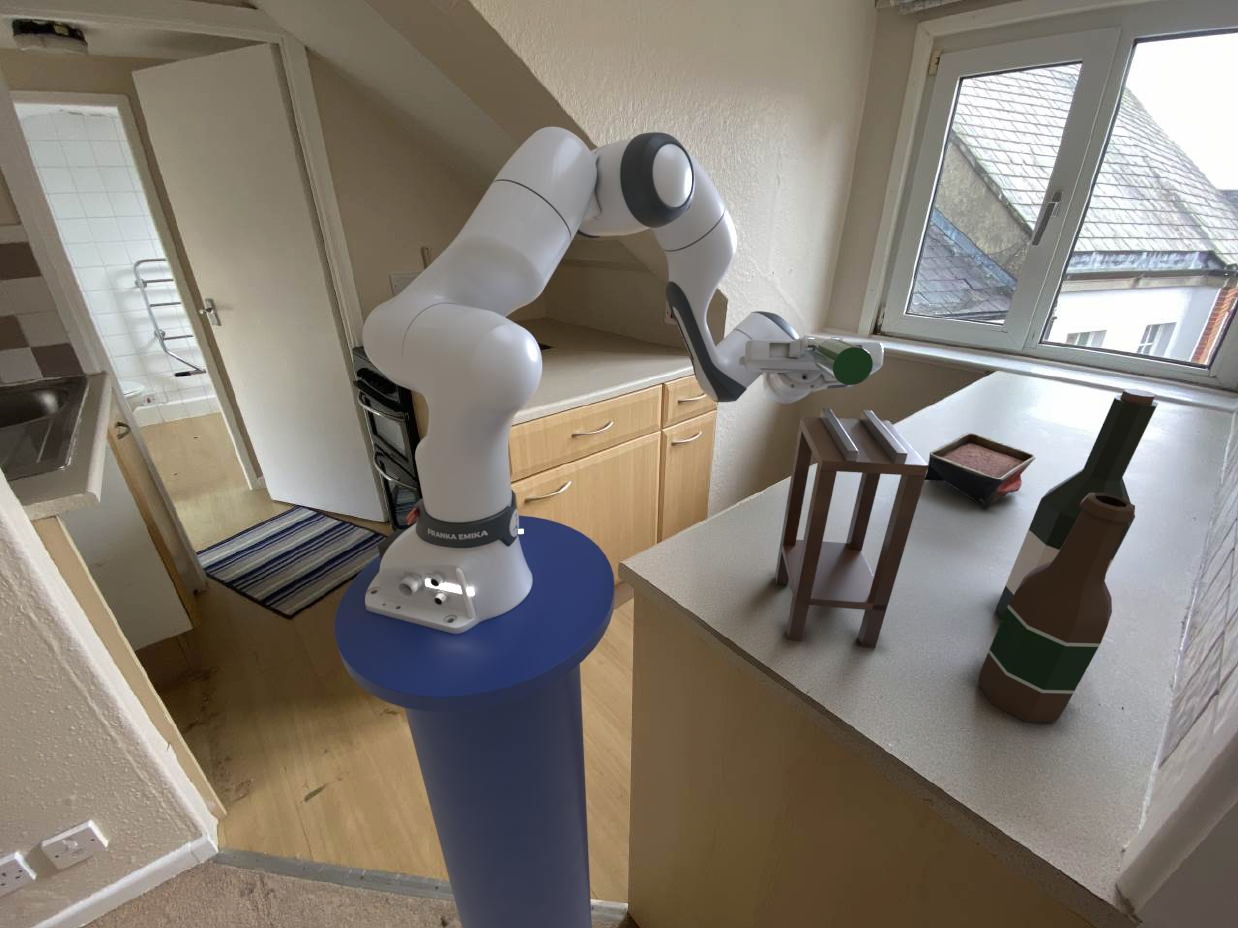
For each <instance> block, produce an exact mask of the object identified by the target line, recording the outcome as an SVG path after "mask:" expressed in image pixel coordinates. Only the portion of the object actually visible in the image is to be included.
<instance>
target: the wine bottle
mask: <svg viewBox="0 0 1238 928" xmlns="http://www.w3.org/2000/svg"><path fill="white" fill-rule="evenodd" d="M1156 396H1157V394H1156V393H1153V392H1151V391H1148V390H1142V389H1139V388H1138V389H1137V388H1124V390H1123V391H1122V393H1121V394H1118V395H1116V396H1114V398H1113V401H1112V403H1111V405H1110V407H1109V410H1108V412H1107V414H1106V416H1105V418H1104V421H1103V423H1102V425H1101V428H1100V430H1099V432H1098V434H1097V437H1096V439H1095V441H1094V444H1093V445H1092V447H1091V450H1090V451H1089V455H1088V457H1087V459H1086V462H1085V464H1084V467H1083V468H1082V469H1080V470H1079V471H1077V472H1075V473H1073V475H1071V476H1069V477H1067V478H1065V479H1064V480H1063V481H1061V482H1059V483H1058V484H1057V485H1055V486H1053V487H1052V488H1050V489H1049V490H1048V491H1047V492H1046V493H1045V494H1044V495H1043V496H1042V497H1041V498H1040V499H1039V503H1038V506H1037V508H1036V510H1035V512H1034V516H1033V518H1032V520H1031V522H1030V524H1029V527H1028V529H1027V533H1026V534H1025V537H1024V539H1023V541H1022V544H1021V547H1020V549H1019V551H1018V553H1017V556H1016V559H1015V561H1014V564H1013V566H1012V568H1011V571H1010V573H1009V576H1008V579H1007V581H1006V583H1005V586H1004V588H1003V590H1002V592H1001V595H1000V598H999V600H998V602H997V605H996V607H995V610H994V611H995V614H996V615H997V616H998V617H999V619H1000V620H1002V619H1003V616H1004V614H1005V612H1006V609H1007V607H1008V604H1009V603H1010V601H1011V599H1012V597H1013V595H1014V594H1015V592H1016V590H1017V588H1018V587H1019V585H1020V583H1021V582H1022V580H1023V578H1024V577H1025V576H1026V575H1027V574H1029V573H1030V572H1031V571H1032V570H1033V569H1035V568H1037V567H1039V566H1042V565H1044V564H1046V563H1049V562H1051V561H1052V560H1053V558H1054V557H1055V556H1056V555H1057V553H1058V552H1059V551H1060V549H1061V547H1062V546H1063V544H1064V542H1065V540H1066V538H1067V537H1068V535H1069V533H1070V531H1071V529H1072V528H1073V526H1074V524H1075V522H1076V520H1077V519H1078V517H1079V515H1080V513H1081V511H1082V510H1083V509H1082V508H1081V507H1080V504H1081V502H1082V500H1083V499H1084V498H1085V497H1086V496H1087V495H1088V494H1089V493H1107V494H1111V495H1114V496H1118V497H1121V498H1123V499H1125V500H1127V501H1128V502H1130V503H1131V504H1132V501H1131V499H1130V496H1129V493H1128V490H1127V487H1126V484H1125V481H1124V476H1125V474H1126V472H1127V470H1128V468H1129V465H1130V463H1131V462H1132V459H1133V457H1134V454H1135V453H1136V450H1137V448H1138V446H1139V444H1140V442H1141V440H1142V439H1143V436H1144V434H1145V432H1146V430H1147V427H1148V426H1149V423H1150V422H1151V420H1152V418H1153V415H1154V413H1155V412H1156V409H1157V407H1158V405H1159V402H1157V401H1154V400H1155V398H1156ZM1135 519H1136V514H1135V515H1134V518H1133V521H1132V522H1126V524H1125V526H1124V529H1123V531H1122V534H1121V536H1120V539H1119V541H1118V543H1117V546H1116V548H1115V551H1114V553H1113V556H1112V558H1111V561H1110V563H1109V566H1108V568H1107V572H1108V571H1109V569H1110V567H1111V566H1112V564H1113V561H1114V560H1115V557H1116V555H1117V553H1118V552H1119V550H1120V548H1121V545H1122V544H1123V542H1124V541H1125V538H1126V537H1127V534H1128V532H1129V530H1130V528H1131V526H1132V524H1133V523H1134V520H1135Z"/></svg>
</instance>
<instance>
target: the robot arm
mask: <svg viewBox="0 0 1238 928" xmlns="http://www.w3.org/2000/svg"><path fill="white" fill-rule="evenodd" d="M649 229H650V230H651V232H652V233H653V235H654V237H655V240H656V241H657V242H658V244H659V246H660V248H661V250H662V251H663V253H664V255H665V256H664V257H665V259H666V262H667V270H668V281H667V284H666V288H665V296H666V301H667V304H668V307H669V310H670V313H671V315H672V318H673V320H674V323H675V326H676V329H677V331H678V332H679V333H678V334H679V335H680V337H681V339H682V342H683V344H684V348H685V349H686V353H687V354H688V358H689V359H690V362H691V365H692V369H693V373H694V377H695V380H696V382H697V384H698V386H699V388H700V390H702V392H703V393H704V394H705V396H706V397H708V398H709V399H710V400H711V401H712V402H715V403H733V402H737V401H738V400H739V399H740V397H742V395H743V394H744V393H745V392H746V391H747V390H748V388H749V387H750V386H751V385H752V384H753V383H754V382H755V381H756V380H757V379H759V377H762V389H763V393H764V394H765V396H766V397H767V398H768V399H769V400H771V401H772V402H775V403H777V404H780V405H781V404H782V405H788V404H793V403H796V402H798V401H800V400H802V399H804V398H805V397H806V396H809V394H810V393H815V392H818V391H822V390H827V389H829V390H830V389H842V388H851V387H854V386H855V385H845V384H842V383H841V382H839V381H837V380H836V379H834V378H833V377H831V376H829V375H828V374H826V373H825V372H823V371H822V370H820V369H819V368H818V367H817V366H816V364H815V362H814V357H813V356H811V355H810V354H809V352H812V350H813V349H814V347H815V343H814V341H815V340H816V337H815V336H803V337H799V335H798V333H797V332H796V330H795V329H794V327H792V325H791V324H790V323H789V322H788V321H786V320H785V319H784V318H783V317H782V316H780V315H778V314H776V313H774V312H770V311H762V310H758V311H757V310H756V311H751V312H750V313H749V314H748V315H747V316H746V317H745V318H744V319H743V320H741V321H740V322H739V323H738V324H737V325H736V326H735V327H734V328H733V329H732V330H731V331H730V332H729V333H728V334H727V335H726V336H725V337H724V338H723V339H722V340H721V341H720V342H719V343H717V344H716V345H715V342H714V339H713V337H712V334H711V331H710V329H709V326H708V323H707V314H708V310H709V305H710V303H711V301H712V299H713V296H714V295H715V293H716V291H717V290H718V287H719V285H720V284H721V282H722V281H723V279H724V277H725V275H726V274H727V273H728V271H729V269H730V267H731V264H732V263H733V260H734V258H735V254H736V250H737V243H738V238H737V232H736V228H735V225H734V222H733V218H732V217H731V214H730V212H729V211H728V208H727V207H726V205H725V203H724V201H723V198H722V197H721V195H720V193H719V191H718V189H717V187H716V186H715V185H714V183H713V181H712V179H711V178H710V176H709V175H708V174H707V172H706V171H705V170H704V168H703V167H702V165H701V164H700V163H699V162H698V160H697V159H696V158H695V156H694V155H693V154H692V153H691V152H689V151H688V150H686V148H685V147H684V146H683V144H682V143H681V142H680V140H678V139H677V138H676V137H675V136H673V135H671V134H669V133H666V132H659V131H657V132H656V131H651V132H643V133H639V134H637V135H636V136H634V137H632V138H627V139H622V140H619V141H615V142H610V143H606V144H603V145H601V146H598V147H596V148H594V149H592V150H591V149H589V147H588V146H587V144H586V143H585V142H584V141H583V140H582V139H581V138H580V137H579V136H578V135H576V134H575V133H573V132H572V131H570V130H568V129H566V128H564V127H560V126H545V127H542V128H540V129H538V130H536V131H535V132H534V133H532V134H531V135H530V136H529V137H528V138H527V139H526V140H525V141H524V142H523V143H522V144H521V145H520V147H518V148H517V149H516V150H515V152H513V154H512V155H511V156H510V158H508V160H507V161H506V162H505V164H504V165H503V166H502V167H501V169H500V170H499V171H498V173H497V174H496V176H495V178H494V179H493V180H492V182H491V184H490V185H489V187H488V188H487V190H486V192H485V193H484V195H483V196H482V198H481V199H480V201H479V203H478V204H477V205H476V207H475V208H474V210H473V212H472V213H471V215H470V216H469V218H468V219H467V221H466V222H465V224H464V226H463V227H462V228H461V230H460V231H459V233H458V234H457V235H456V236H455V238H454V239H453V240H452V242H450V244H449V245H448V246H447V247H446V248H445V249H444V250H443V251H442V252H441V253H440V254H439V255H438V256H437V257H436V258H435V259H434V260H433V261H432V262H431V263H430V264H429V265H428V266H427V267H426V268H425V269H424V270H423V271H422V272H421V273H420V274H418V275H417V277H415V279H413V280H412V281H411V282H410V283H409V284H408V286H406V287H405V288H404V289H403V290H402V291H401V292H399V293H398V294H397V295H395V296H393V297H391V298H390V299H388V300H386V301H384V302H382V303H379V304H378V305H377V306H376V307H375V308H373V309H372V310H371V312H370V313H369V315H368V316H367V317H366V319H365V322H364V324H363V327H362V336H361V337H362V346H363V350H364V352H365V354H366V356H367V359H368V360H369V361H370V362H371V364H372V365H373V366H374V367H375V368H376V369H377V370H378V371H379V372H380V373H381V374H382V375H383V376H385V377H386V378H387V379H388V380H390V381H391V382H392V383H393V384H396V385H397V386H399V387H403V388H405V389H407V390H410V391H413V392H416V393H418V394H420V395H422V397H423V398H424V399H425V402H426V405H427V408H428V423H427V424H428V425H427V432H426V435H425V436H424V437H423V438H422V439H421V440H420V441H419V443H418V444H417V446H416V449H415V454H414V459H415V464H416V470H417V475H418V480H419V484H420V490H421V495H422V498H420V499H419V500H418V501H417V502H416V503H414V505H413V509H412V510H411V511H410V512H409V514H407V516H406V520H408V521H407V525H408V526H410V525H411V524H412V523H413V522H414V521H415V520H416V521H415V523H413V524H412V525H411V526H410V527H408V528H407V529H400V528H397V529H395V531H394V532H392V533H391V534H390V535H388V537H386V538H385V539H383V540H382V541H381V542H380V543H378V545H377V550H378V554H379V555H380V558H381V564H380V570H379V573H378V574H377V575H376V577H375V578H374V579H373V581H372V582H371V584H370V586H369V588H368V590H367V592H366V596H365V606H366V610H368V611H370V612H374V613H377V614H381V615H385V616H389V617H392V618H396V619H400V620H404V621H407V622H411V623H415V624H419V625H422V626H426V627H430V628H434V629H437V630H441V631H445V632H448V633H452V634H460V633H463V632H465V631H467V630H469V629H470V628H472V627H473V626H475V625H476V624H478V623H479V622H482V621H484V620H487V619H490V618H493V617H496V616H499V615H501V614H503V613H506V612H507V611H509V610H511V609H513V608H514V607H516V606H517V605H518V604H519V603H521V602H522V601H523V600H524V599H525V597H526V596H527V595H528V593H529V591H530V589H531V587H532V582H533V578H532V574H531V571H530V569H529V568H528V565H527V563H526V561H525V558H524V555H523V552H522V549H521V545H520V541H519V537H518V534H523V529H519V516H520V515H519V510H518V506H517V505H518V504H517V498H516V494H515V491H514V490H513V489H512V480H511V479H512V478H511V468H510V455H509V442H510V435H511V429H512V425H513V422H514V419H515V417H516V415H517V413H518V412H519V411H521V410H522V409H523V408H524V407H525V406H527V405H528V404H529V403H530V401H531V400H532V399H533V398H534V396H535V394H536V392H537V390H538V388H539V386H540V383H541V380H542V374H543V358H542V357H543V356H542V352H541V348H540V346H539V344H538V342H537V340H536V338H535V337H534V336H533V335H532V333H531V332H530V331H529V330H527V329H526V328H524V327H523V326H521V325H520V324H518V323H516V322H514V321H513V320H510V319H509V318H507V317H508V316H509V315H510V314H512V313H513V312H516V311H517V310H518V309H521V308H523V307H525V306H528V305H529V304H531V303H532V302H534V301H535V300H536V299H537V298H539V297H540V295H541V294H542V293H543V291H544V289H545V288H546V287H547V284H548V283H549V281H550V280H551V278H552V276H553V274H554V273H555V271H556V269H557V267H558V266H559V265H560V262H561V260H562V259H563V258H564V255H565V254H566V252H567V250H568V249H569V248H570V245H571V243H572V241H573V240H574V237H575V236H578V237H581V238H585V239H598V238H602V237H613V236H615V237H616V236H629V235H632V234H637V233H641V232H645V231H647V230H649ZM830 339H838V340H841V341H844V342H846V343H849V344H852V345H855V346H858V347H860V348H863V349H865V350H866V351H868V352H869V354H870V355H871V357H872V360H873V367H872V371H871V373H870V375H872V374H874V373H875V372H877V371H878V370H880V369H881V368H882V366H883V363H884V351H885V350H884V345H883V343H881V342H880V341H854V340H853V341H851V340H850V341H848V340H844V338H843V337H841V336H840V337H838V336H836V337H835V336H834V337H832V336H831V338H830ZM821 341H822V342H823V341H824V340H821ZM870 375H869V376H870Z"/></svg>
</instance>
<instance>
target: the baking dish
mask: <svg viewBox="0 0 1238 928" xmlns="http://www.w3.org/2000/svg"><path fill="white" fill-rule="evenodd" d="M928 459H929V460H928V464H927V465H928V469H927V472H926V476H925V480H924V481H933V482H945V483H947V484H948V485H950V487H953V488H954V489H956V490H957V491H959V492H961V493H962V494H963V495H965V496H967V497H968V498H969V499H971V500H973V501H974V502H975V503H977V504H978V505H979V506H981V507H982V508H984V510H986V511H989V509H990V508H991V507H992V506H993V505H994V504H995V503H996V502H997V501H999V500H1000V499H1002V498H1004V497H1005V496H1006V495H1007V494H1009V493H1016V492H1018V491H1019V490H1020V489H1021V487H1022V485H1023V481H1022V477H1021V476H1022V474H1023V473H1024V472H1025V471H1026V470H1027V468H1028V467H1029V466H1030V465H1031V464H1032V463H1033V461H1035V459H1036V456H1035V455H1034V454H1033V453H1030V451H1029V452H1028V451H1026V450H1023V449H1021V448H1018V447H1015V446H1012V445H1009V444H1007V443H1004V442H1002V441H999V440H995V439H992V438H990V437H986V436H983V435H981V434H980V435H979V434H976V433H972V432H966V433H964V434H962V435H960V436H959V437H957V438H955V439H953V440H951V441H949V442H948V443H946V444H943V445H941V446H940V447H939V446H938V448H936V449H933V450H932V451H930V452H929V458H928Z"/></svg>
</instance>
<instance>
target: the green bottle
mask: <svg viewBox="0 0 1238 928" xmlns="http://www.w3.org/2000/svg"><path fill="white" fill-rule="evenodd" d="M822 341H823V342H822ZM844 341H845V340H843V341H841V340H838V339H831V338H828V339H825V340H819V339H818V340H817V339H815V341H814V343H815V347H814V349H813V350H812V352H809V354H810V355H811V356H813V357H814V362H815V364H816V366H817V367H818V368H819V369H820V370H822V371H823V372H825V373H826V374H828V375H829V376H831V377H833V378H834V379H836V380H837V381H839V382H841V383H842V384H845V385H854V386H855V385H858V384H861V383H862V382H864V381H866V379H867V378H869V376H870V373H871V371H872V367H873V360H872V357H871V355H870V354H869V352H868V351H866V350H865V349H863V348H860V347H858V346H855V345H852V344H849V343H846V342H844Z"/></svg>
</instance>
